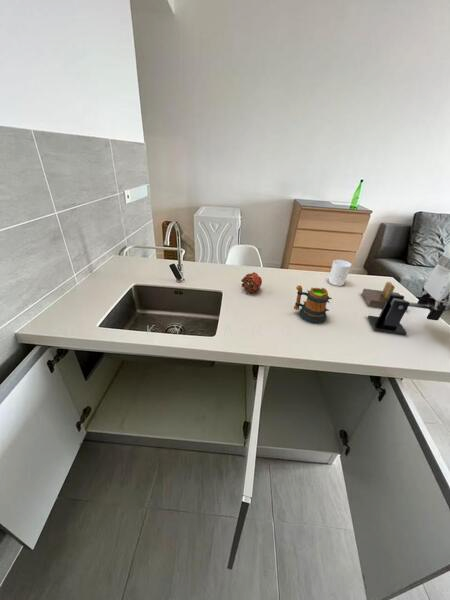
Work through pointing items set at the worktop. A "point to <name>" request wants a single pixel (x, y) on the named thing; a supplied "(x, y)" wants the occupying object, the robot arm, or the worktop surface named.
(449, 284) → the robot arm
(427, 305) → the door lever
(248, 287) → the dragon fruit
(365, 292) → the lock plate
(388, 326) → the handle bracket
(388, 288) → the tall mustard panel
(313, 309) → the mug
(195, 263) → the worktop surface
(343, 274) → the white cup
